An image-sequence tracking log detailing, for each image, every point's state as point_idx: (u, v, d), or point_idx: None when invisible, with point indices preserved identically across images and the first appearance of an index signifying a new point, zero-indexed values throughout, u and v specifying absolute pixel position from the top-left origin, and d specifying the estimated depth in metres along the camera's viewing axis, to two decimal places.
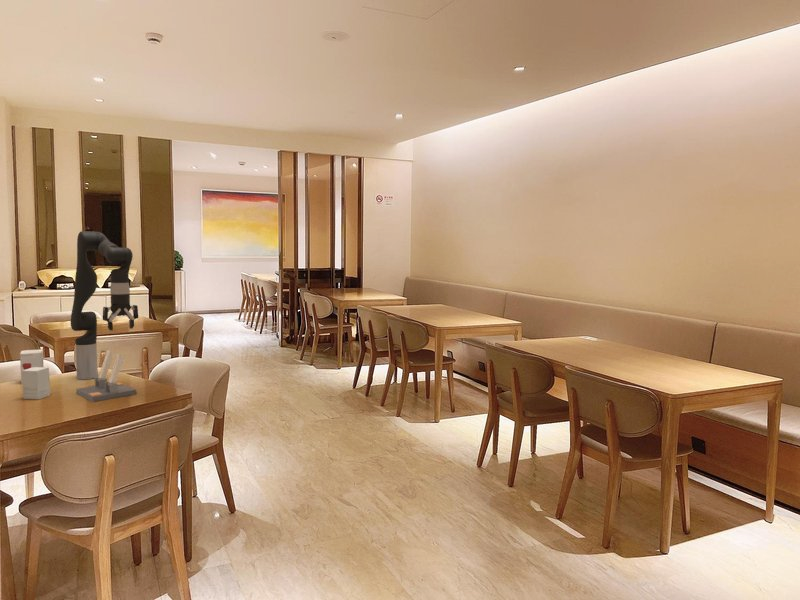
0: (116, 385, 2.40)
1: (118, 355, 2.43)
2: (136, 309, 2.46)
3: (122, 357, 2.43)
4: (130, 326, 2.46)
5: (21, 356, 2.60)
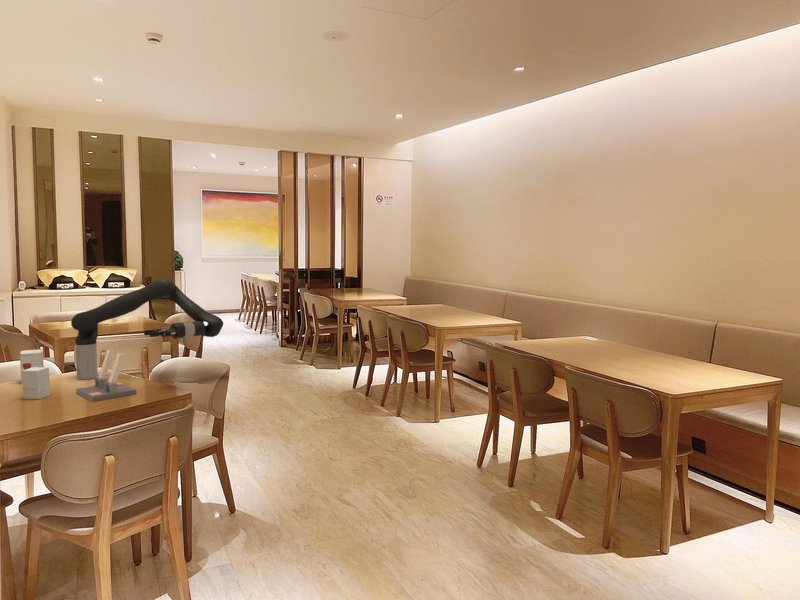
0: (116, 385, 2.40)
1: (118, 355, 2.43)
2: None
3: (122, 357, 2.43)
4: (146, 333, 2.54)
5: (21, 356, 2.60)
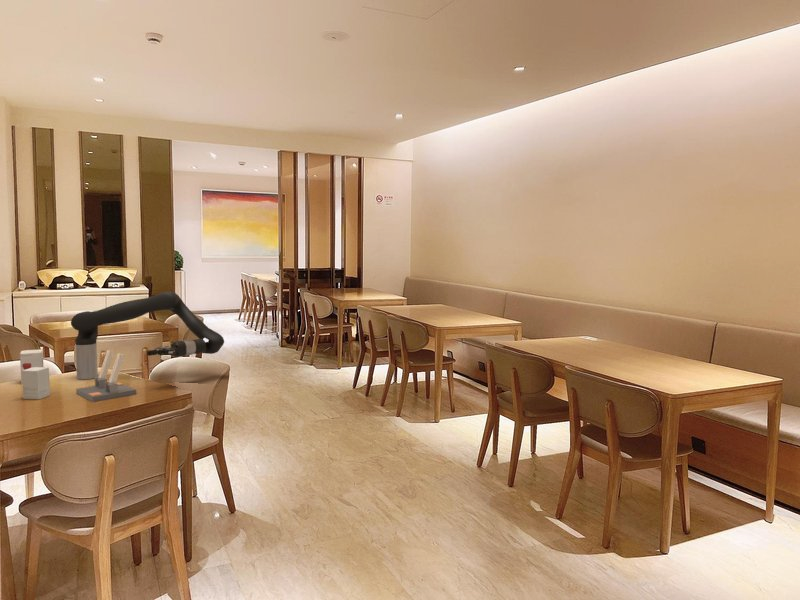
0: (116, 385, 2.40)
1: (118, 355, 2.43)
2: None
3: (122, 357, 2.43)
4: None
5: (21, 356, 2.60)
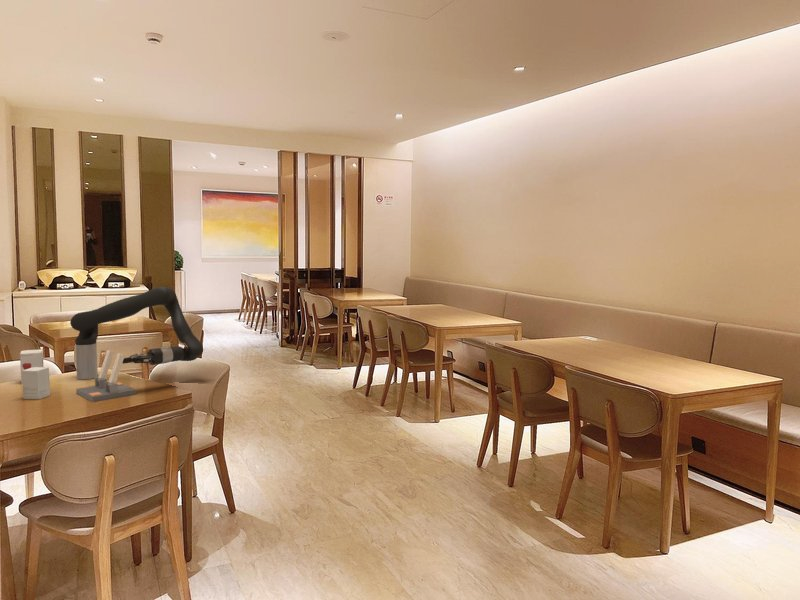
0: (116, 385, 2.40)
1: (118, 355, 2.43)
2: None
3: (122, 357, 2.43)
4: None
5: (21, 356, 2.60)
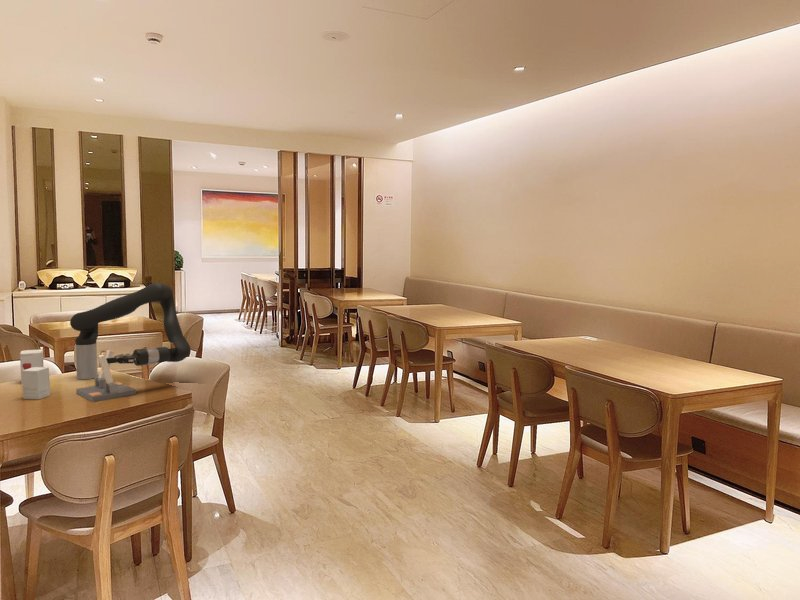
0: (116, 385, 2.40)
1: (99, 358, 2.37)
2: None
3: (104, 358, 2.37)
4: None
5: (21, 356, 2.60)
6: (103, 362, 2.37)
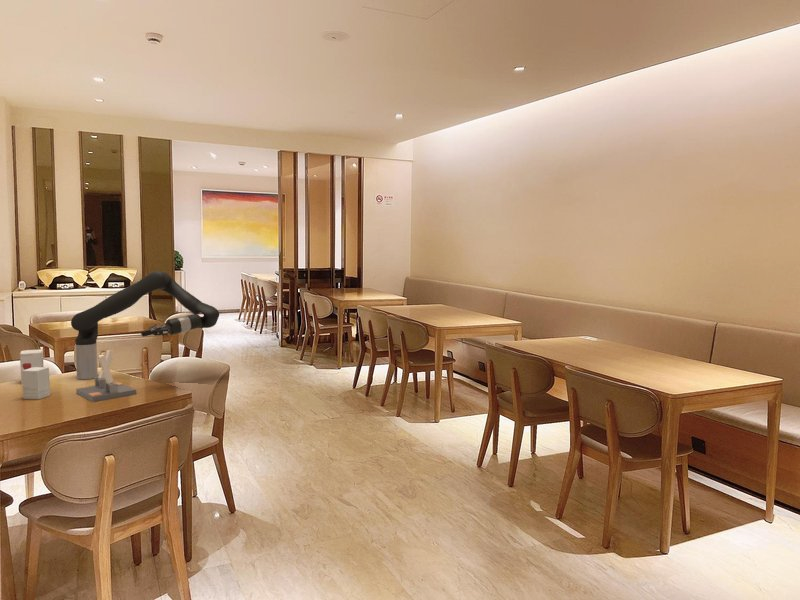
0: (116, 385, 2.40)
1: (99, 358, 2.37)
2: None
3: (104, 358, 2.37)
4: None
5: (21, 356, 2.60)
6: (103, 362, 2.37)
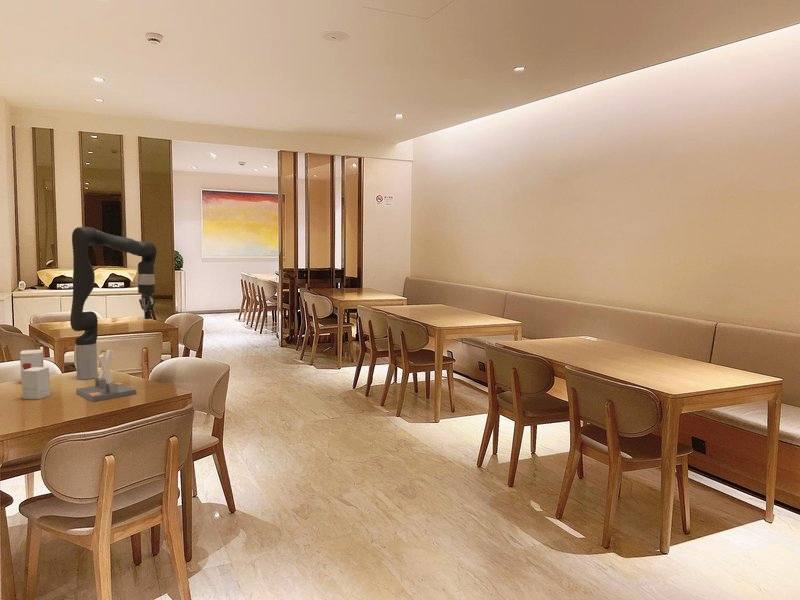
0: (116, 385, 2.40)
1: (99, 358, 2.37)
2: None
3: (104, 358, 2.37)
4: None
5: (21, 356, 2.60)
6: (103, 362, 2.37)
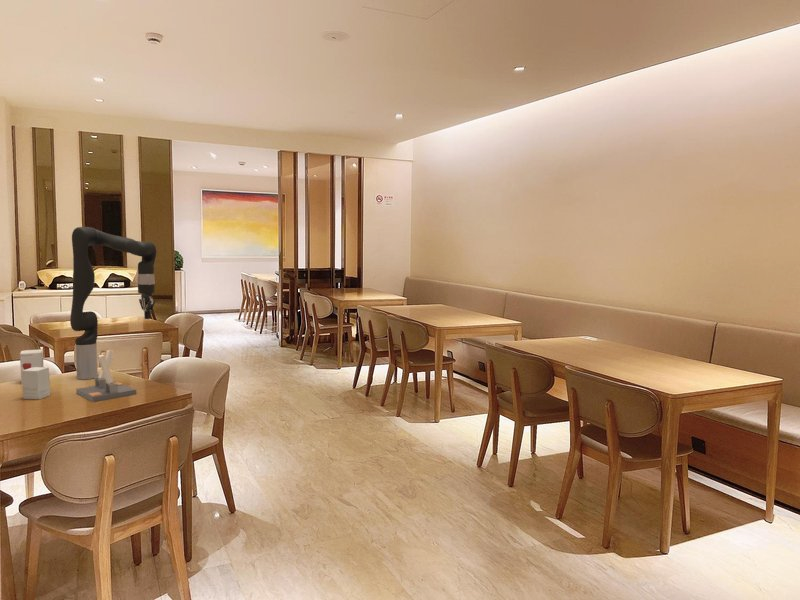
0: (116, 385, 2.40)
1: (99, 358, 2.37)
2: None
3: (104, 358, 2.37)
4: None
5: (21, 356, 2.60)
6: (103, 362, 2.37)
